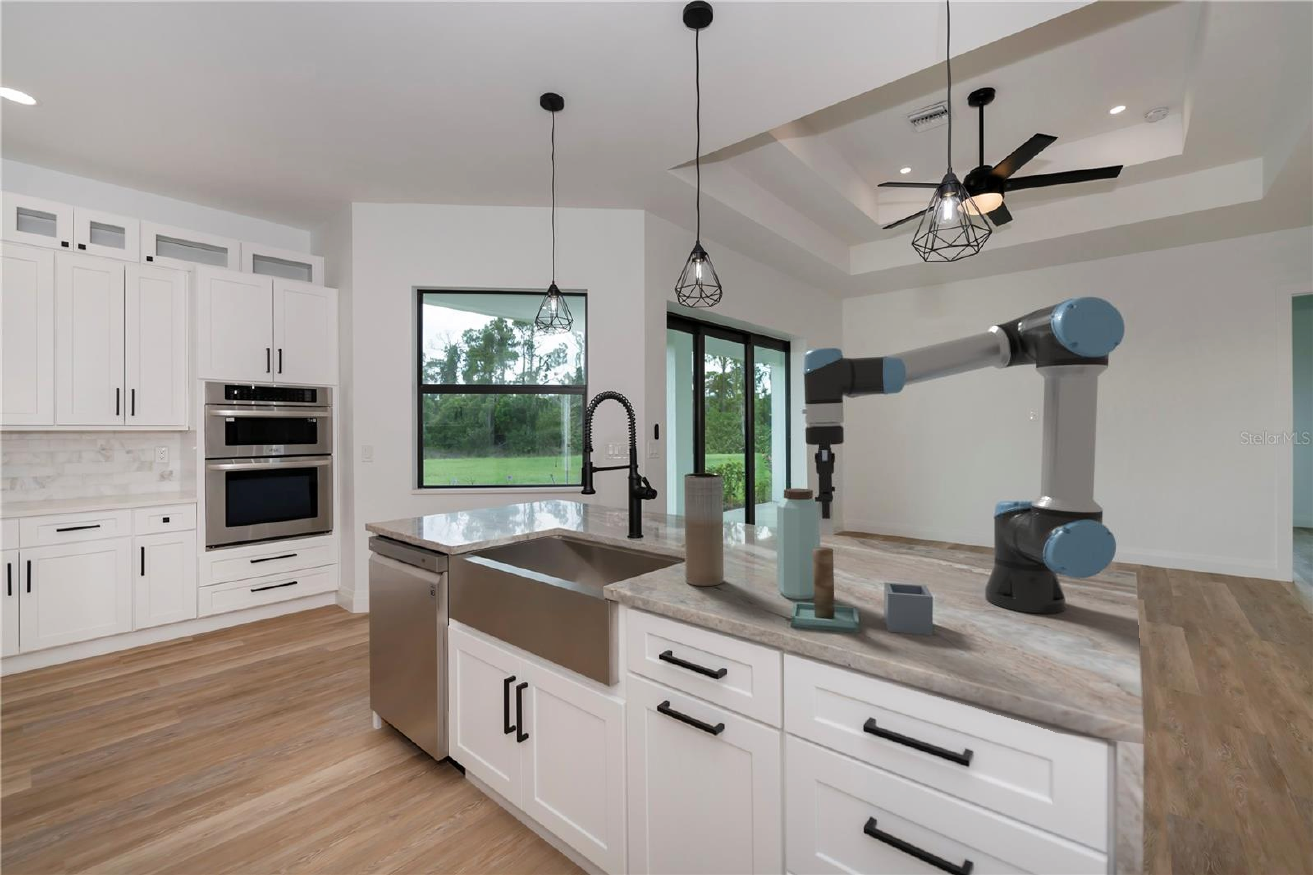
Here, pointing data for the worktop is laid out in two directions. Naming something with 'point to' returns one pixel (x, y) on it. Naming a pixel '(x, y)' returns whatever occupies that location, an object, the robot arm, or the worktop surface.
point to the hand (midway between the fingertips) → (826, 528)
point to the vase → (704, 529)
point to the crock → (908, 608)
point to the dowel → (823, 583)
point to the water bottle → (797, 543)
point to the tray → (842, 622)
